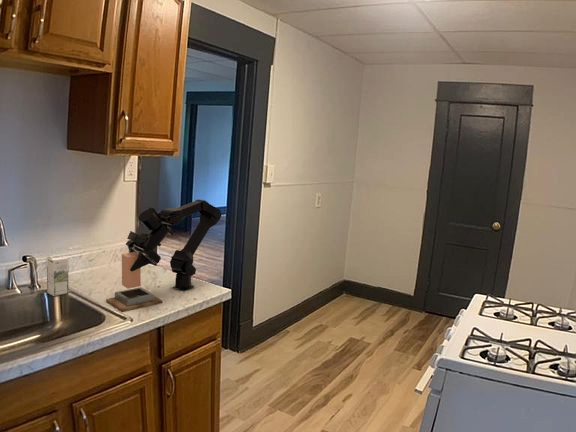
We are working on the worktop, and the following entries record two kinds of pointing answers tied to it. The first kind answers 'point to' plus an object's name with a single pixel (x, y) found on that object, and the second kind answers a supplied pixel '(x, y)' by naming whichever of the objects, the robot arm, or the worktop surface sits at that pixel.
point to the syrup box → (57, 275)
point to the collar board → (133, 299)
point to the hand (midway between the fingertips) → (127, 269)
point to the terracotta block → (130, 277)
